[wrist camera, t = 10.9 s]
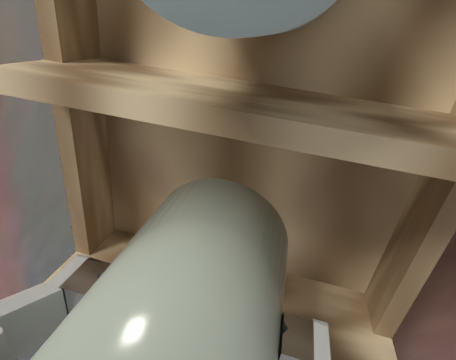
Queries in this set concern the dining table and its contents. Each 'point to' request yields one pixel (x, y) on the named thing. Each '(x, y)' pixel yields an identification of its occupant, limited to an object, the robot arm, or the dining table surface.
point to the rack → (267, 141)
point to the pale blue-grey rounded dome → (240, 15)
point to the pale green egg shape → (187, 284)
